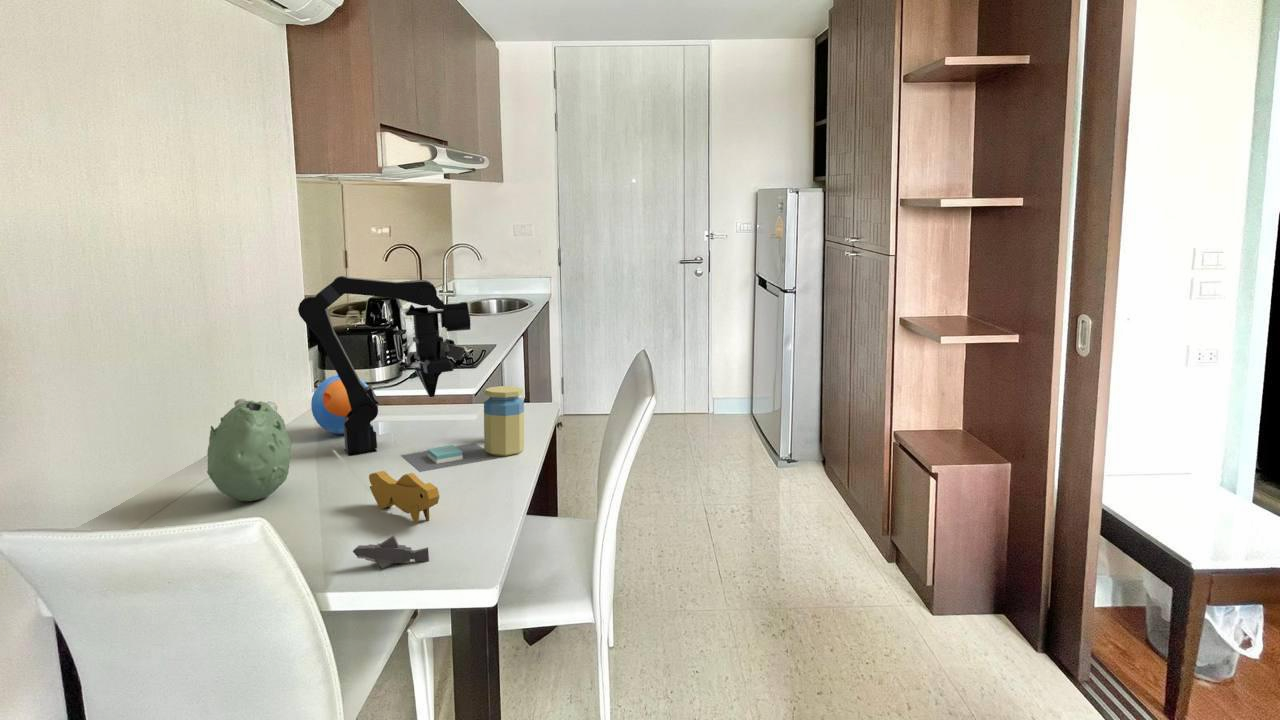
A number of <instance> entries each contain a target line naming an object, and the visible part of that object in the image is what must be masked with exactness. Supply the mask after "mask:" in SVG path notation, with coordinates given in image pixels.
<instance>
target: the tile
mask: <svg viewBox="0 0 1280 720" xmlns="http://www.w3.org/2000/svg"><path fill="white" fill-rule="evenodd" d="M426 449H427V450H426V451H428V457H429V458H430V459H432V460H433V461H434V462H436V463H437V464H438V463H443V462H449V461H455V460H461V459H463V455H462V451H461V450H459V449H458V448H456V447H455V445H454V444H450V445H444V446H443V445H442V446H437V447H431V448H426Z"/></svg>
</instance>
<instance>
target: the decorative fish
mask: <svg viewBox="0 0 1280 720" xmlns="http://www.w3.org/2000/svg"><path fill="white" fill-rule="evenodd" d="M368 481H369V483H370V485H369V489H370V492H371V493H372V496H373V497H374V499H375V502H376V504H377V505H378V507H379V509H381V508H382V509H381V510H384V509H387V507H388V508H390V507H393V506H395V507H396V508H397V509H399V510H401V511H402V512H403V513H405V514H410V517H411V519H412V522H413V523H414V524H415V525H418V524H419V522H420V512H423V516H424V517H425V520H426V521H427V522H429V521H430V508H433V507H434V506H436V505H437V504H438V503H439V500H440V493H439V489H438V487H437V486H436V485H434V484H433V483H431V482H427V483H425V482H424V481H422V480H421V479H420V478H419V477H418V476H417V475H416V474H415V473H413V472H411V473H406V474H403V475H402V476H401V477H400V478H399V479H398V480H396V479H395V478H393V477H392V476H390V475H389V474H388V473H387V471H386V470H380V471H377V472H373V473H370V474H369V475H368Z"/></svg>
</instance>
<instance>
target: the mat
mask: <svg viewBox="0 0 1280 720" xmlns="http://www.w3.org/2000/svg"><path fill="white" fill-rule="evenodd" d="M454 446H455V445H454ZM455 447H456V448H458V449H459V450H461V451H462V455H463V459H461V460H455V461H449V462H443V463H438V464H437V463H436V462H434V461H433V460H432V459H430V458H429V457H428V450H424V451H419V452H418V451H417V452H412V453H406V454H400V456H401V457H402V458H403V459H404V460H405V461H406V462H408V463H409V464H410V465H411V466H412V467H414V469H415V470H417V471H419V473H424V472H427V471H434V470H438V469H444V468H451V467H455V466H462V465H468V464H473V463H479V462H486V461H490V460H496V459H498V456H494V455H492V454H489V453H488V452H486V451H484V448H483V447H482V446H480V445H478V444H477V443H475V442H472V443H467V444H461V445H456V446H455Z"/></svg>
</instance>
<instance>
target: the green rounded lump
mask: <svg viewBox="0 0 1280 720" xmlns="http://www.w3.org/2000/svg"><path fill="white" fill-rule="evenodd" d="M208 439H209V440H208V442H209V443H208V447H207V453H206V455H207V471H206V473H207V475H208V477H209V478H210V480H211V481H212V483H213V484H214V486H215V487H216V488H217V489H218V491H220V492H221V494H224V495H226V496H228V497H229V498H230V499H233V500H237V501H240V502H241V501H242V502H255V501H258V500H262V499H264V498H267V497H269V496H270V495H272V494H273V493H274V492H275V491H276V490H278V488H279V487H280V486H282V485H283V483H285V481H286V480H287V478H288V476H289V471H290V460H291V458H292V454H291V450H292V448H291V447H292V442H291V439H290V436H289V434H288V430H287V428H286V424H285V420H284V419H283V417H282V416H281V415H280V413H278V405H277V404H276V403H275V402H273V401H267V402H263V401H261V400H260V401H254V400H246V399H245V398H240V399H237V400H235V401H234V407H232V408H230V410H229V411H228V412H226V414H224V415H223V416H222V417H220V423H218V426H217V427H215V428H214V426H213V425H210V431H209V438H208Z"/></svg>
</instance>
